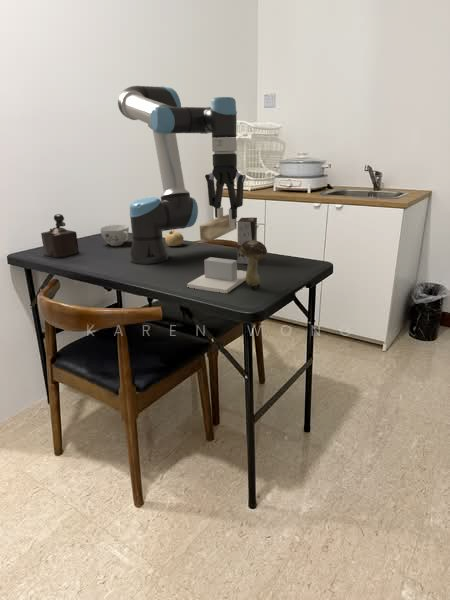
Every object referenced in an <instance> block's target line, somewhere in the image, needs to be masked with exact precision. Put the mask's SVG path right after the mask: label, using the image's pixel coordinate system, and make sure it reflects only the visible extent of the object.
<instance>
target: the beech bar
mask: <svg viewBox="0 0 450 600" xmlns="http://www.w3.org/2000/svg"><path fill="white" fill-rule="evenodd" d="M235 230H238V221H237V218H236V219H235V228H234V229H232V230H229V214H225V215H223V216H222V217H220V218H215V219H213V220H210V221H208V222H204V223H202V224H200V225H199V236H200V241H202V242H203V241H204V242H205V241H206V242H212V241H214V240H216V239H218V238H220V237H223V236H224V235H226V234H229V233H230V232H231V233H232V232H233V231H235Z"/></svg>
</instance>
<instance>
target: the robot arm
mask: <svg viewBox="0 0 450 600" xmlns="http://www.w3.org/2000/svg"><path fill="white" fill-rule="evenodd" d="M236 102H237V101H236V99H235V98H234V97H233V96H218V97H213V98H212V99H211V100H210V106H208V107H198V106H197V107H196V106H194V107H192V106H190V107H189V106H182V103H181V99H180V96H179V94H178V93H177V91H176V90H174V89H173V87H166V86H162V85H161V86H149V85H147V86H146V85H131V86H129V87H127V88H124V89H123V91H121V92H120V94H119V96H118V100H117V106H118V109H119V111H120V113H121V114H122V116H124V117H125V118H127V119H129V120H133V121H141V122H143V123H145V124H147V126H148V128H149V129H151V130H152V132H153V133H152V134H153V137H154V138H153V139H154V143H155V151H156V155H157V162H158V167H159V168H158V169H159V174H160V179H161V185H162V190H163V192H162V194H161V196H160V198H159V197H157V196H152V197H145V198H141V199H140V198H139V199H136V200H134V201H132V202H131V203H130V204H129V217H130V218H129V219H130V228H131V235H132V236H131V237H132V242H131V248H130V251H129V260H130V262H132V263H134V264H143V265H145V264H146V265H148V264H149V265H150V264H157V263H163V262H164V261H167V260H168V259H169V251H168V250H167V246H166V243H165V241H164V239H163V232H165V231H171V230H172V231H175V230H179V229H182V230H184V229H187V228H191V227H193V226H194V225H195V223H196V222H197V220H198V215H199V208H198V207H199V206H198V203H197V201H196V199H195V198H194V197H191V196H190V195H191V193H190V191H188V190H187V189H186V187H185V181H184V174H183V170H182V169H183V167H182V163H181V162H182V161H181V157H180V151H179V150H180V149H179V145H178V138H177V135H176V134H206V135H208V134H211V141H212V142H211V145H212V152H214V153H213V154H212V167H213V169H212V172H211V173H208V174H205V176H204V178H205V180H206V184H207V185H206V186H207V193H208V194H207V196H208V204H209V206H211V207H213V208H214V216H215V219H217V218H220V217H222V216H224V207H222V200H223V199H222V198H223V191H224V187H225V186H226V188H227V193H228V199H229V205H230V208H228V215H229V230H232V229H234V228H235V219H236V220H237V218H238V208H240V207H243V204H244V203H243V201H244V199H243V198H244V184H245V183H244V182H245V181H246V180H245V179H246V175H245V174H242V173H240V172H239V171H238V168H237V165H238V159H237V157H238V154H237V153H236V152H237V150H238V147H237V143H238V142H237V115H238V111H237V103H236ZM235 179H236V189H235ZM215 180H216V182H215Z"/></svg>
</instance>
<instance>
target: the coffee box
mask: <svg viewBox="0 0 450 600" xmlns="http://www.w3.org/2000/svg"><path fill="white" fill-rule="evenodd" d="M257 222H258V218H257V217H241V218H239V219H238V221H237V264H243V265H248V257H247V256H245V255H243V254H242V253H241V251H240V246H241V244H243V243H244V242H246V241H249V240H256V241H258V240H257V239H258V223H257Z"/></svg>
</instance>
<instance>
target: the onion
mask: <svg viewBox="0 0 450 600" xmlns="http://www.w3.org/2000/svg"><path fill="white" fill-rule="evenodd" d="M164 240H165V244H167V246H169V247H180V246H182V245H183V244H184V235H183V234H182V233H181V232H179V231H176V230H168V233H167V234H166V236H165V239H164Z"/></svg>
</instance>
